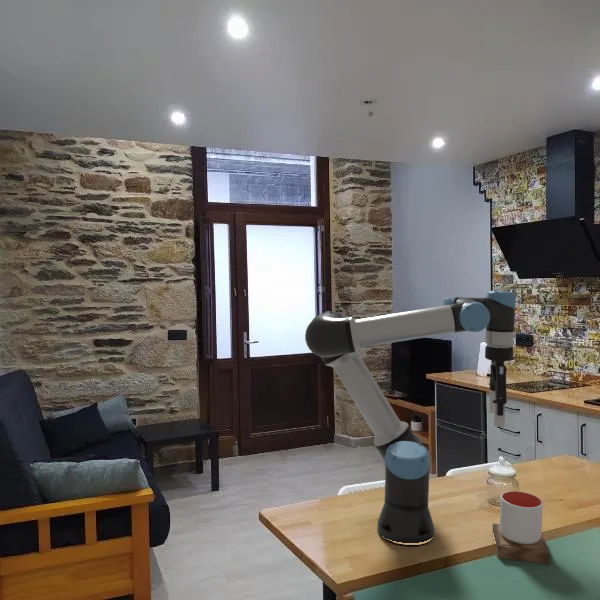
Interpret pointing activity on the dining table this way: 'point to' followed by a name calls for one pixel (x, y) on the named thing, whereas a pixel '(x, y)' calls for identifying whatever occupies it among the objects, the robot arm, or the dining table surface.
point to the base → (520, 548)
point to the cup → (521, 517)
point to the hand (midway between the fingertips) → (496, 419)
